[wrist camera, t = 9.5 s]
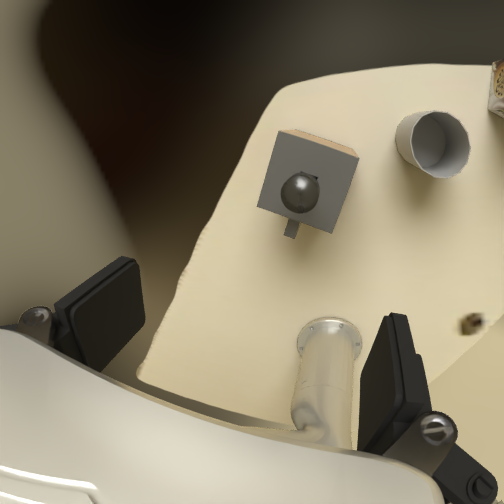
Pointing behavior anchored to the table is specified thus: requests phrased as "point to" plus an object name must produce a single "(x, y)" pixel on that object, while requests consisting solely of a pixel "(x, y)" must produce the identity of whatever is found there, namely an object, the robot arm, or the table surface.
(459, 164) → the cup
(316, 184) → the lever with black knob
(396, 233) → the table surface
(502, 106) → the coffee box
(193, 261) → the table surface
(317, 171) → the tan lever base
